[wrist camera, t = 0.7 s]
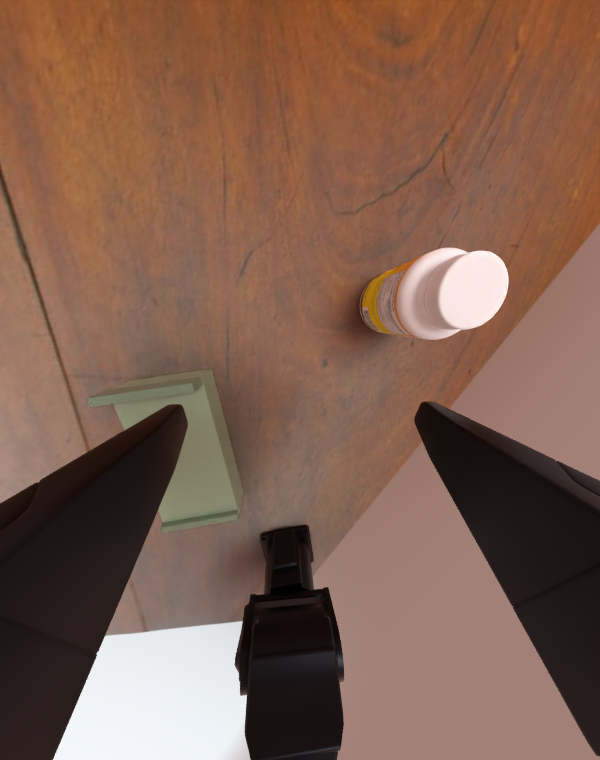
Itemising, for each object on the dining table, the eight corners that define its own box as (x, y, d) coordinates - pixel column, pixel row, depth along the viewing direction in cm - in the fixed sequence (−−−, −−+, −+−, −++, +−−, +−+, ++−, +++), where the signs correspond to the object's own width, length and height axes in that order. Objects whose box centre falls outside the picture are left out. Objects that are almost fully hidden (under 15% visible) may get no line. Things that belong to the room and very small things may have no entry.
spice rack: (244, 493, 26) (235, 533, 21) (178, 504, 26) (154, 547, 21) (211, 368, 21) (192, 383, 16) (130, 379, 21) (85, 398, 16)
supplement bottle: (419, 282, 21) (544, 251, 11) (398, 338, 22) (492, 355, 12) (368, 265, 20) (453, 214, 10) (349, 324, 21) (408, 330, 11)
